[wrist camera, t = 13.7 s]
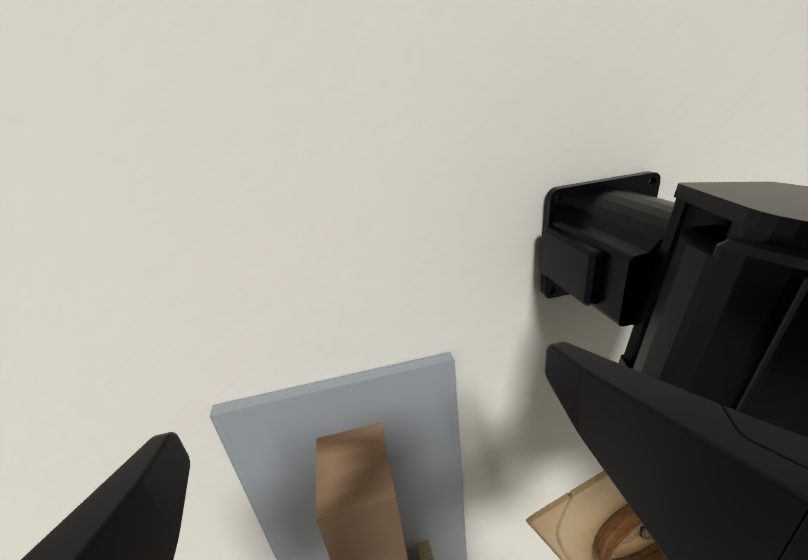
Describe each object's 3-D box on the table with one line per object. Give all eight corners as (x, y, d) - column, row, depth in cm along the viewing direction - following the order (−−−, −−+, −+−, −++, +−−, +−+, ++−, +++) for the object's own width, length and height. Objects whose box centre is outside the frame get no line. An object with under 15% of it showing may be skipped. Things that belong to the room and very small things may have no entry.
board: (516, 512, 33) (535, 550, 30) (667, 419, 32) (701, 450, 29) (598, 601, 44) (617, 636, 41) (711, 536, 43) (739, 566, 40)
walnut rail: (381, 422, 23) (396, 497, 19) (410, 577, 31) (426, 656, 27) (316, 438, 23) (316, 519, 18) (363, 592, 31) (371, 674, 26)
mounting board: (450, 352, 23) (454, 359, 22) (464, 566, 34) (467, 576, 33) (213, 405, 21) (209, 415, 20) (308, 614, 32) (307, 626, 31)
